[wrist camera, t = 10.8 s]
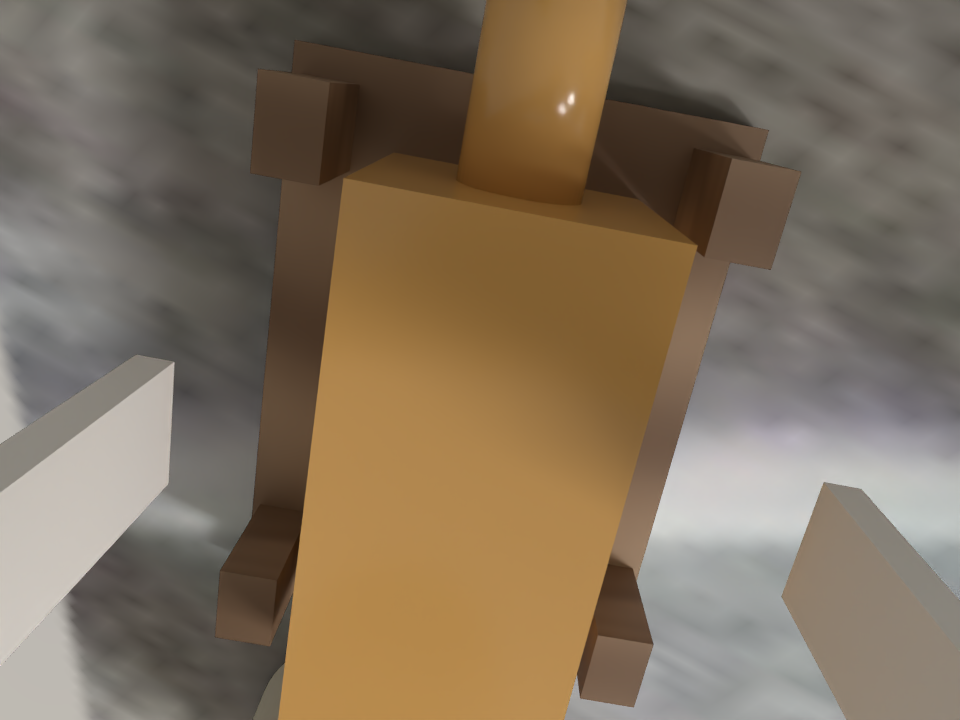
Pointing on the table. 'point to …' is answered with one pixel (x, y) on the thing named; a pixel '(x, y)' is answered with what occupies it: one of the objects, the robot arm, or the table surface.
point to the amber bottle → (480, 397)
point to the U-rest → (438, 136)
